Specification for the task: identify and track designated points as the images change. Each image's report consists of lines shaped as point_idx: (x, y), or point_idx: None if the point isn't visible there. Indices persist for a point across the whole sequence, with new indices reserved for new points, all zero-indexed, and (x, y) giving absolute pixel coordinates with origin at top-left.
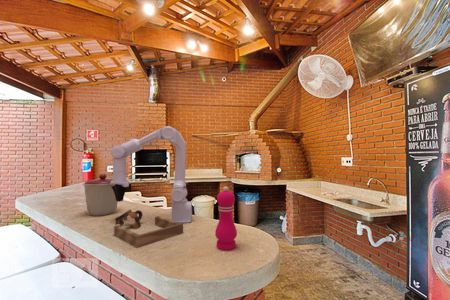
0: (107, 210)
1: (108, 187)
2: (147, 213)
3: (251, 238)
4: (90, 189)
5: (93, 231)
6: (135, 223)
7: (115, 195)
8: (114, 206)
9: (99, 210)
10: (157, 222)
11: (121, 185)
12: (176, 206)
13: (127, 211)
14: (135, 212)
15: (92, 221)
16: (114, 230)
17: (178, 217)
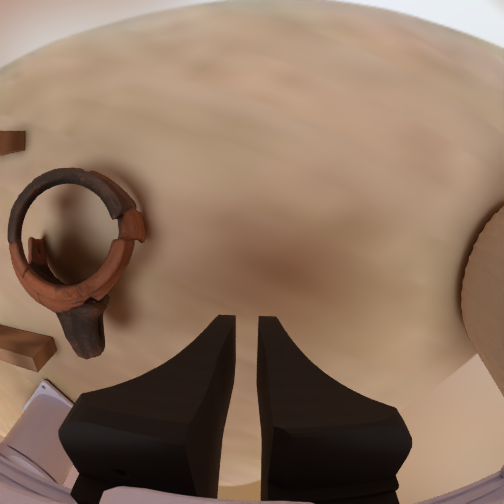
0: (471, 282)
1: None
2: None
3: None
4: None
5: (156, 58)
6: (28, 256)
7: (272, 346)
8: (472, 337)
9: (493, 234)
10: (28, 341)
11: (79, 499)
12: (8, 434)
13: (14, 253)
14: (65, 317)
15: (403, 139)
16: (7, 131)
17: (27, 407)
